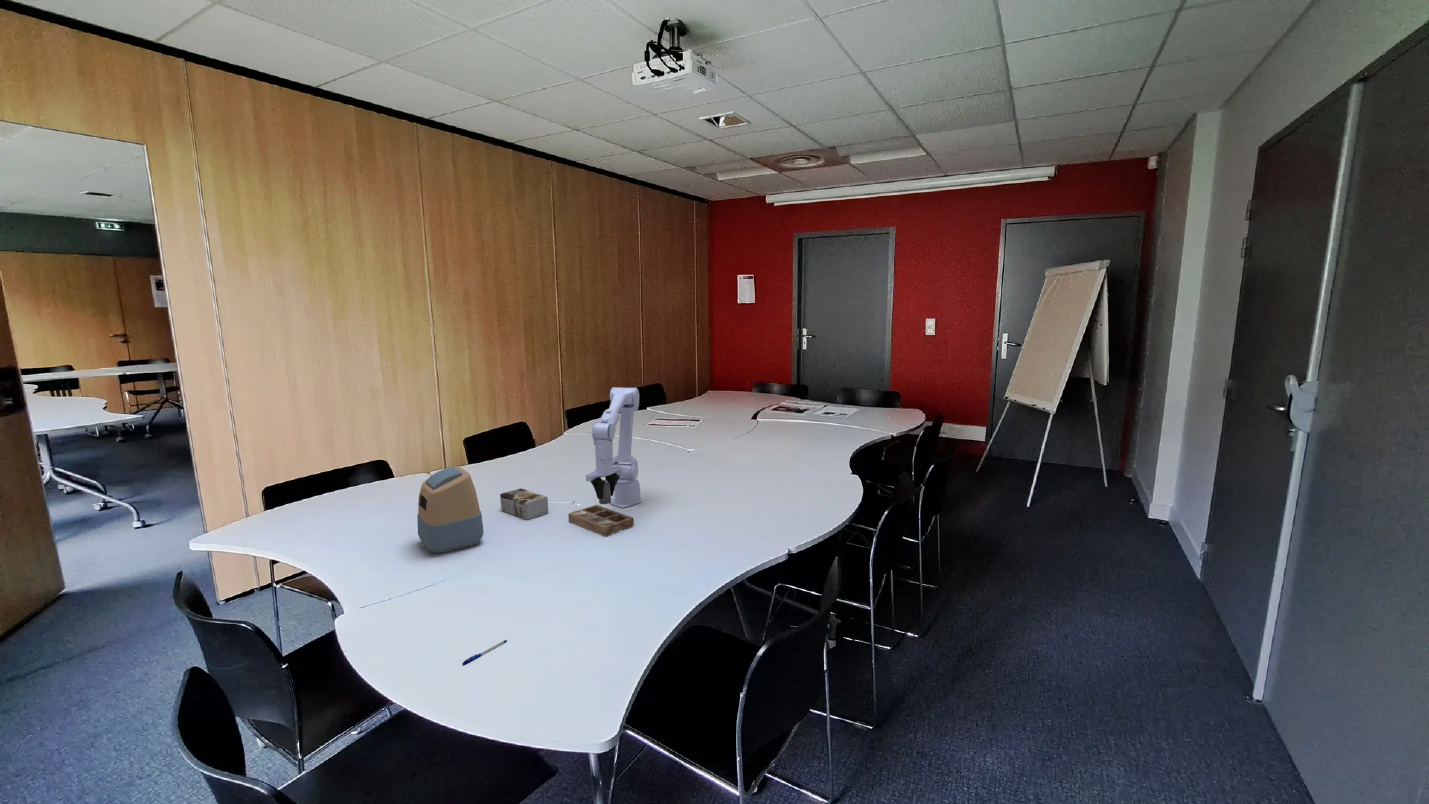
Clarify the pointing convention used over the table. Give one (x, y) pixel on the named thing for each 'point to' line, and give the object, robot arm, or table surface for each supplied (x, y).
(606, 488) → the plug
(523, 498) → the coffee box
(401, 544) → the table surface
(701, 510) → the table surface
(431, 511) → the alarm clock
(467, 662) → the ballpoint pen
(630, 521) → the socket board
